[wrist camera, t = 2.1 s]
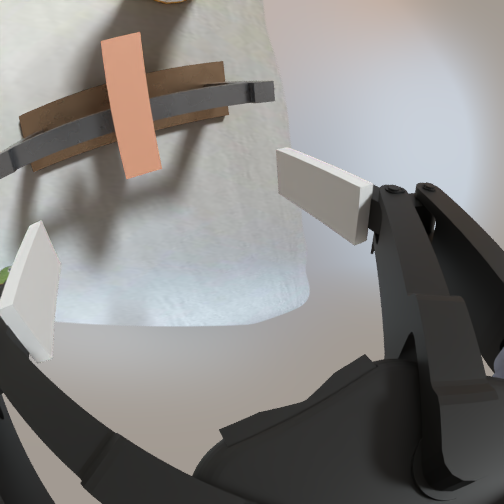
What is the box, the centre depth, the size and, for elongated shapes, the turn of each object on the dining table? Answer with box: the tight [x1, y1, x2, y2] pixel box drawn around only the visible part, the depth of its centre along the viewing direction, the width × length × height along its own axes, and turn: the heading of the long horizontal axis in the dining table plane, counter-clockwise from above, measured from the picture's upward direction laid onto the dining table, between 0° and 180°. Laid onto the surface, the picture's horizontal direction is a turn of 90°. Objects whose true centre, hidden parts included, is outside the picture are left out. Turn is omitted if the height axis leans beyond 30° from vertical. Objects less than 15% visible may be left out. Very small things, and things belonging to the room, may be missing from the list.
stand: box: [0, 61, 275, 179], centre depth 26 cm, size 28×8×16 cm, turn 97°
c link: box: [101, 32, 162, 179], centre depth 23 cm, size 3×12×12 cm, turn 7°
